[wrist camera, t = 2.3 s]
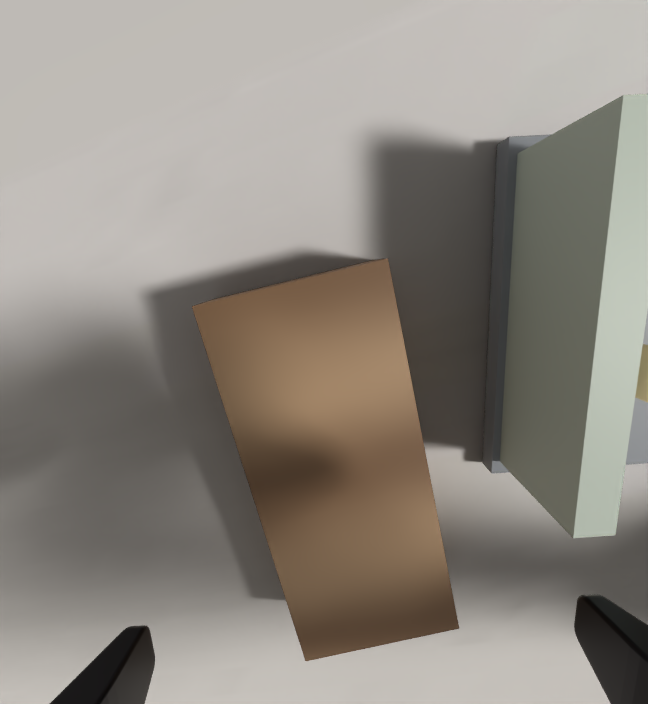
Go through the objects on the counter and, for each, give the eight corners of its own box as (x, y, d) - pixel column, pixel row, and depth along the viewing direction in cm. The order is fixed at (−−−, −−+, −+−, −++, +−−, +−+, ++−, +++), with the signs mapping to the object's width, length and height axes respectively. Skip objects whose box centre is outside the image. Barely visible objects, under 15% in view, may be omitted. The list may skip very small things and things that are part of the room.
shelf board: (434, 566, 17) (459, 628, 14) (307, 593, 17) (305, 661, 14) (372, 259, 14) (387, 258, 11) (217, 297, 14) (191, 306, 11)
